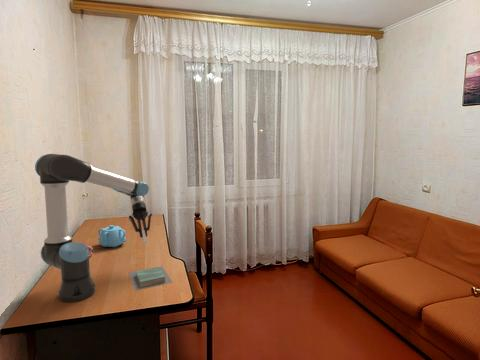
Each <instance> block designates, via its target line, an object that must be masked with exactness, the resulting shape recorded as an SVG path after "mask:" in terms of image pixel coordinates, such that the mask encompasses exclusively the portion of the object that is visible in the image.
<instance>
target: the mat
mask: <svg viewBox="0 0 480 360" xmlns="http://www.w3.org/2000/svg"><path fill="white" fill-rule="evenodd" d="M158 267H159V268H160V270H161V271H162V273H163V274H164V276H165V282H161V283H156V284H152V285H147V286H142V287H140V284H139V282H138V279H137V277H136V271H137V270H136V271H131V272H128V275H129V278H130V281H131V284H132V286H133V288H134V291H139V290H140V291H141V290H145V289H149V288H154V287H159V286H163V285H167V284H172V283H173V281H172V280H171V277H170V276H169V275H168V273H167V272H166V270H165V268H164V267H163V266H162V265H161V266H158Z"/></svg>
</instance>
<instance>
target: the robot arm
mask: <svg viewBox="0 0 480 360" xmlns="http://www.w3.org/2000/svg"><path fill="white" fill-rule="evenodd" d="M34 168H35V169H34V170H35V172H36V174H37V176H39V183H40V185H42V187H44V199H45V200H44V201H45V215H46V229H47V230H46V231H47V237H46V238H44V240H43V243H44V244H43V246H42V247H41V249H40V258H41V259H42V261H43V262H44V263H45V264H47V265H48V266H50V267H53V268H56V269H58V270H60V274H61V284H60V288H59V290H58V299H59V301H61V302H64V303H73V302H79V301H84V300H85V299H88V298H89V297H91V296H93V295H94V294H95V292H96V286H95V283H94V281H93V279H92V277H91V269H90V257H89V256H90V253H89V252H90V251H89V247H87V246H88V245H87V244H85V243H84V242H79V241H78V242H76V241H74V242H73V236H71V235H70V234H69V225H68V223H69V222H68V208H67V207H68V205H67V191H66V190H67V188H66V186H67V185H68V184H69V182H70V181H71V182H78V183H82V184H84V183H85V184H86V183H90V184H94V185H98V186H101V187H105V188H109V189H112V190H114V191H115V192H116V193H120V194H123V195H126V196H129V198H130V203H131V208H132V215H129V216H128V220H129V221H130V222H131V224H132V227H133V229H134V231H135V233H139V237H140V238H142V244H147V237H148V231H150V229H151V220H152V217H153V213H150V212H149V213H148V210H147V205H146V201H145V200H146V199H145V196H147V195H148V193H149V190H150V187H149V184H148V183H146V182H144V181H138V180H135V179H132V178H129V177H125V176H123V175H119V174H116V173H114V172H110V171H107V170H104V169H102V168H98V167H95V166H92V164H91V163H89V162H86V161H83V159H82V160H81V159H78V158H76V157H73V156H71V155H67V154H57V153H48V154H43V155H41V156H40V157H39V158H37V160H36V162H35V164H34ZM147 218H148V220H147V222H146V219H147ZM135 220H136V221H137V224H136V221H135ZM141 221H142V223H141ZM146 223H147V224H146ZM142 227H143V229H142Z"/></svg>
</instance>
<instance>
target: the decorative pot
mask: <svg viewBox="0 0 480 360" xmlns="http://www.w3.org/2000/svg"><path fill="white" fill-rule="evenodd" d="M97 232H98V243H99V245H101V246H102V247H104V248H109V247H110V248H111V247H112V248H117V247H119V246H121V245H122V244H123V243H126V242H127V238H126V233H127V232H126V231H125V229H123V228H121V226H119V225H113V224H110V225H108V226H106V227H105V228H104V227H103V228H102V227H101V228H99V229H98V231H97Z"/></svg>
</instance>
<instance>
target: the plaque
mask: <svg viewBox="0 0 480 360" xmlns="http://www.w3.org/2000/svg"><path fill="white" fill-rule="evenodd" d="M159 267H160V266H156V267H150V268H145V269H140V270H136V277H137V279H138V282H139V284H140V287H142V286H147V285H152V284H156V283H161V282H165V276H164V274H163V273H162V271H161V270H160V268H159Z"/></svg>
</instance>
